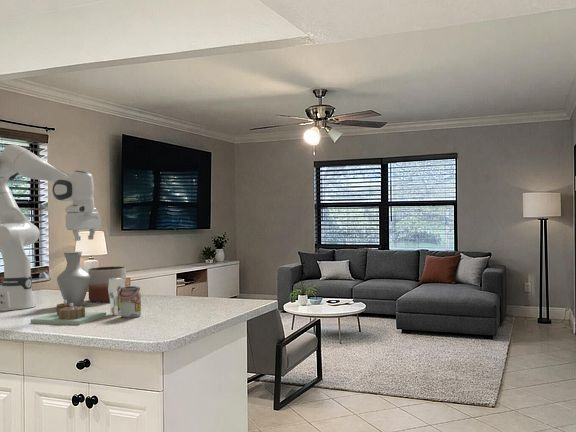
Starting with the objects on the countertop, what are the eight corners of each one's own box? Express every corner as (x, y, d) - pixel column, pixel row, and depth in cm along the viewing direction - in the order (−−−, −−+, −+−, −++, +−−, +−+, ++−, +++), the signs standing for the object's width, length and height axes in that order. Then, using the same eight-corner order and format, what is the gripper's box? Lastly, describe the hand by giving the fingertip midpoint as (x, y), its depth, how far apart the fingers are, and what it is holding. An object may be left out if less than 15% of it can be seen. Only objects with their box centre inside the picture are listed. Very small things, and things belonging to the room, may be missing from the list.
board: (30, 323, 222) (30, 305, 222) (60, 314, 239) (60, 298, 239) (79, 324, 216) (79, 306, 216) (106, 316, 234) (106, 299, 234)
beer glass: (110, 316, 233) (109, 279, 233) (107, 313, 239) (106, 278, 239) (127, 314, 237) (126, 278, 236) (124, 312, 243) (123, 277, 243)
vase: (76, 309, 254) (74, 253, 254) (50, 307, 259) (49, 253, 259) (97, 303, 267) (96, 250, 267) (72, 302, 272) (71, 250, 272)
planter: (111, 296, 291) (110, 265, 291) (134, 298, 281) (133, 267, 281) (81, 301, 277) (80, 269, 277) (103, 304, 266) (102, 270, 266)
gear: (54, 315, 230) (53, 305, 230) (63, 312, 236) (63, 302, 236) (66, 315, 229) (66, 305, 229) (76, 312, 235) (75, 302, 235)
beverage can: (134, 319, 226) (134, 289, 225) (115, 319, 227) (114, 289, 227) (144, 314, 235) (144, 286, 235) (125, 314, 236) (125, 286, 236)
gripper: (91, 208, 256) (92, 238, 256) (62, 208, 236) (63, 241, 236) (103, 207, 254) (104, 238, 254) (75, 207, 234) (76, 241, 235)
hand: (84, 240), depth 245 cm, fingers open, 8 cm apart
